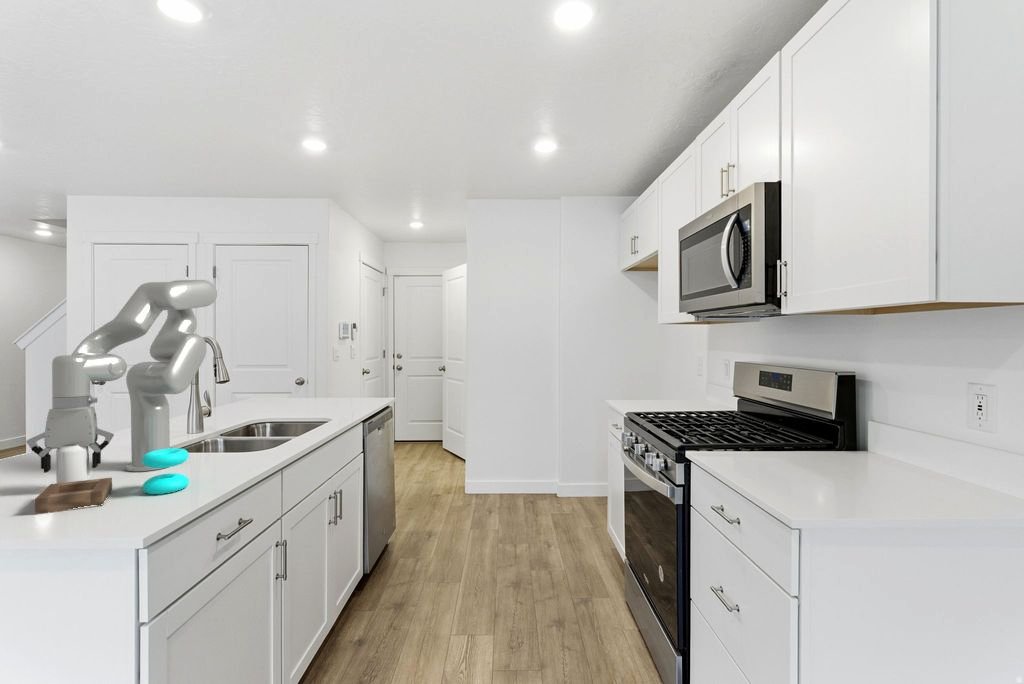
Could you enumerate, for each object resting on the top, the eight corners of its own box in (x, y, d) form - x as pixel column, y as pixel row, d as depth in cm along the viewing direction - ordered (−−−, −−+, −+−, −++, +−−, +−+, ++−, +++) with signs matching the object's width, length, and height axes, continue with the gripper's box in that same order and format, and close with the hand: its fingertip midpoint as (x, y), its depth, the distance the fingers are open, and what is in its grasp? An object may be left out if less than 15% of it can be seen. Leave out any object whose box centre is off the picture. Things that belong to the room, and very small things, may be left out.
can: (69, 485, 137) (68, 440, 137) (95, 485, 138) (94, 440, 137) (50, 493, 131) (49, 446, 130) (77, 492, 131) (76, 445, 131)
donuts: (183, 454, 131) (136, 457, 127) (184, 493, 131) (137, 498, 128) (192, 446, 140) (148, 448, 137) (192, 482, 141) (149, 486, 137)
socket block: (112, 490, 133) (111, 477, 133) (102, 505, 122) (102, 491, 122) (50, 498, 127) (50, 484, 127) (35, 514, 116) (34, 499, 116)
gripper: (115, 399, 141) (115, 462, 141) (31, 403, 133) (31, 469, 133) (110, 402, 135) (110, 468, 135) (22, 406, 126) (22, 476, 126)
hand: (71, 469), depth 134 cm, fingers open, 9 cm apart
